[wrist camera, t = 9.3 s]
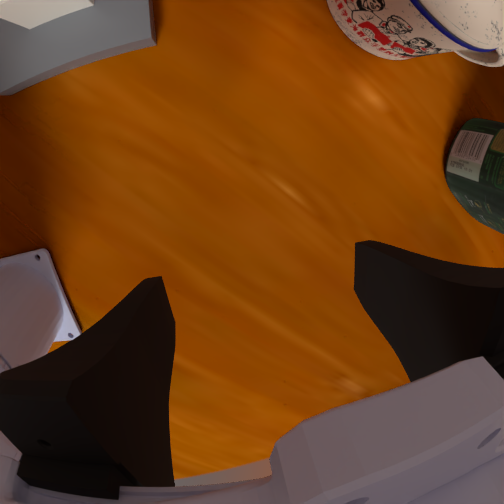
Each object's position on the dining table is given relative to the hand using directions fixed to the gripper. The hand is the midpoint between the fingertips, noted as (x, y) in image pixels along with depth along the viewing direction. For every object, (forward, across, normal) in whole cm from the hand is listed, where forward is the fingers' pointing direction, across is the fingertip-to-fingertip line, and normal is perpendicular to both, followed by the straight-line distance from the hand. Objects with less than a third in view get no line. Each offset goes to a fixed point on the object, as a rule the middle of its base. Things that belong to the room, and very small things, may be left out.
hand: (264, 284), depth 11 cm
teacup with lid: (+10, -13, -13) cm, 21 cm away
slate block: (+11, +9, -17) cm, 22 cm away
